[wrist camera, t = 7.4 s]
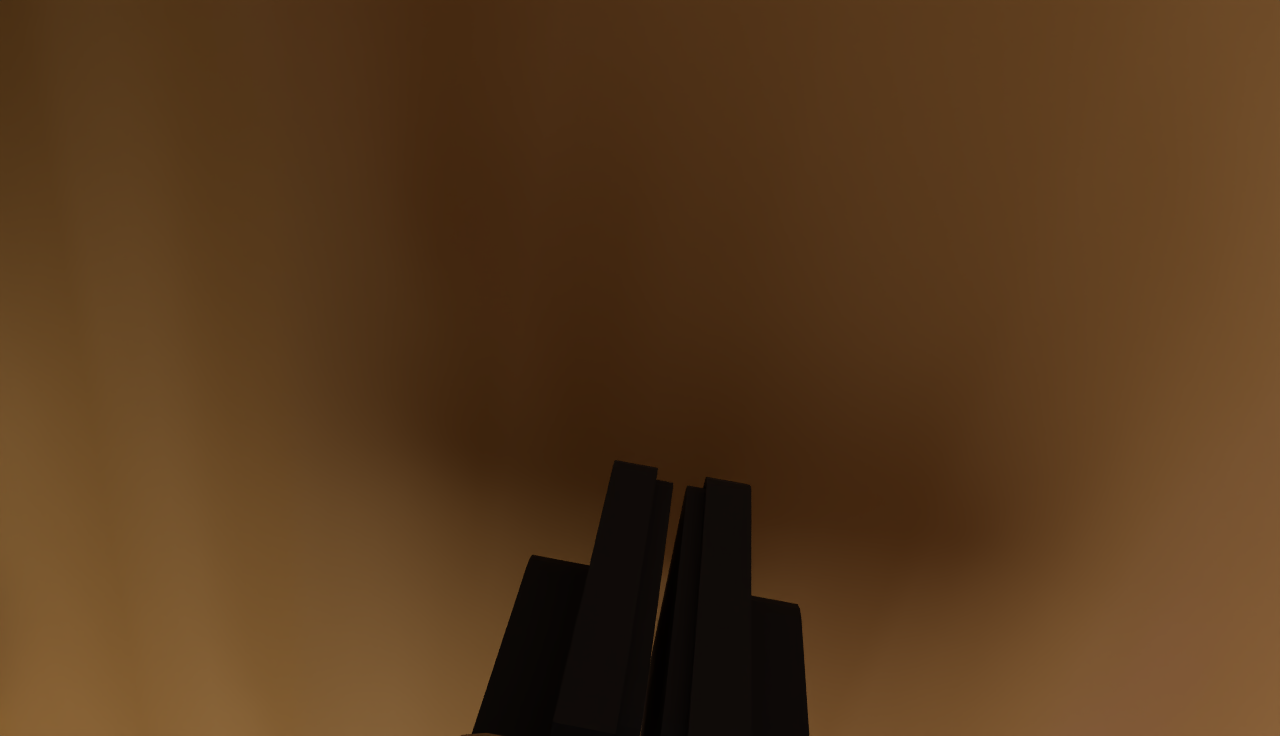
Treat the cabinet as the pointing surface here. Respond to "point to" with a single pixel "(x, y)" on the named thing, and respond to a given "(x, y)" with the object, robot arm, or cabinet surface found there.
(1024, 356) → the cabinet surface
